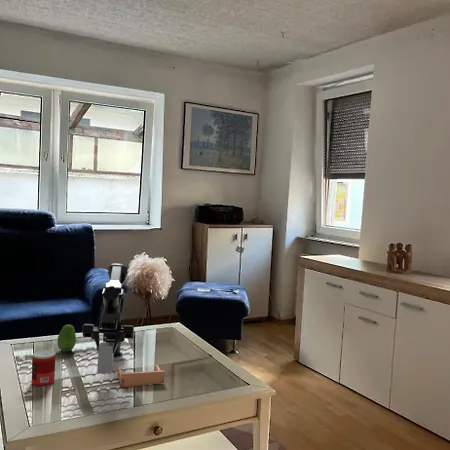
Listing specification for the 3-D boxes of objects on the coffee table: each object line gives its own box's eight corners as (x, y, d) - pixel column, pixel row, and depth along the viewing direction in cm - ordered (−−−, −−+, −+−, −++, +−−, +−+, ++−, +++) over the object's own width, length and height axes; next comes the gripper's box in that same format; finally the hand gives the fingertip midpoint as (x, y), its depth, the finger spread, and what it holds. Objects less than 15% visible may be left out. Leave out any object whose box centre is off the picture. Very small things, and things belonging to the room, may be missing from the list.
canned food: (58, 380, 175) (60, 352, 174) (43, 388, 167) (45, 358, 166) (41, 377, 177) (43, 348, 176) (26, 384, 170) (27, 354, 169)
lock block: (98, 369, 174) (100, 342, 174) (112, 369, 175) (114, 342, 175) (97, 373, 169) (98, 345, 169) (111, 373, 170) (112, 346, 170)
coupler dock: (117, 374, 184) (118, 362, 184) (157, 372, 189) (158, 360, 189) (121, 387, 173) (121, 374, 172) (163, 384, 178) (164, 371, 178)
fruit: (78, 351, 206) (80, 325, 206) (62, 355, 201) (63, 328, 200) (69, 347, 212) (71, 321, 211) (53, 350, 206) (54, 323, 205)
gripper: (84, 302, 173) (77, 341, 163) (135, 304, 176) (131, 343, 166) (86, 317, 181) (80, 355, 171) (135, 319, 184) (131, 356, 174)
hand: (105, 352), depth 170 cm, fingers closed on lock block, 5 cm apart
